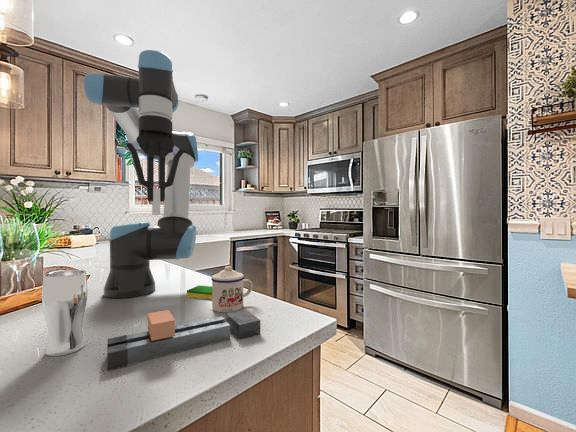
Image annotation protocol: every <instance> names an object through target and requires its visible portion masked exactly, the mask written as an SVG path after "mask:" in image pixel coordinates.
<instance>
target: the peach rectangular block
mask: <svg viewBox="0 0 576 432" xmlns="http://www.w3.org/2000/svg"><path fill="white" fill-rule="evenodd" d="M175 326H176V319H175V318H174V316H173V314H172V312H171V311H170V309H166V310H165V309H164V310H160V311H154V312H153V311H152V312H148V313H147V331H149V334H150V337H151V340H152V341H154V340H158V339H163V338H167V337H172V336H175Z"/></svg>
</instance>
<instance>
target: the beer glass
mask: <svg viewBox="0 0 576 432" xmlns="http://www.w3.org/2000/svg"><path fill="white" fill-rule="evenodd" d="M42 279H43V280H42V288H41V291H42V292H41V301H42V303H41V304H42V309H43V315H44V319H45V323H46V328H47V334H48V335H47V342H46V348H45V355H46V356H48V357H61V356H66V355H69V354H72V353H75V352H77V351H80V350H82V349H83V348H84V347H85V345H86V341H85V337H84V331H83V325H84V324H83V323H84V317H85V312H86V308H87V307H86V306H87V301H88V281H87V280H88V279H87V271H86V270H85V269H66V270H58V271H57V270H56V271H52V272H47V273H45V274H43V278H42Z"/></svg>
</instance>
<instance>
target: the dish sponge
mask: <svg viewBox="0 0 576 432" xmlns="http://www.w3.org/2000/svg"><path fill="white" fill-rule="evenodd" d="M186 297H187V298H192V297H195V298H194V299H203V298H207V299H206V300H212V286H210V285H209V286H208V285H196V286H194V287H191V288H189V289H187V290H186Z"/></svg>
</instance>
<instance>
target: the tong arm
mask: <svg viewBox="0 0 576 432" xmlns="http://www.w3.org/2000/svg"><path fill="white" fill-rule="evenodd" d="M225 322H226V318H224V317H223V316H222V315H221V316H217V317H211V318H207V319H201V320H197V321H191V322H187V323H182V324H178V325H177V324H175V333H179V332H183V331H188V330H193V329H197V328H202V327H207V326H211V325H216V324H221V323H225ZM146 339H151V337H150V334H149V331H148V330H146V331H142V332H137V333H133V334H128V335H127V334H125V335H120V336H114V337H109V338H107V347H111V346H115V345H120V344H125V343H127V344H128V343H132V342H137V341H142V340H146Z"/></svg>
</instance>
